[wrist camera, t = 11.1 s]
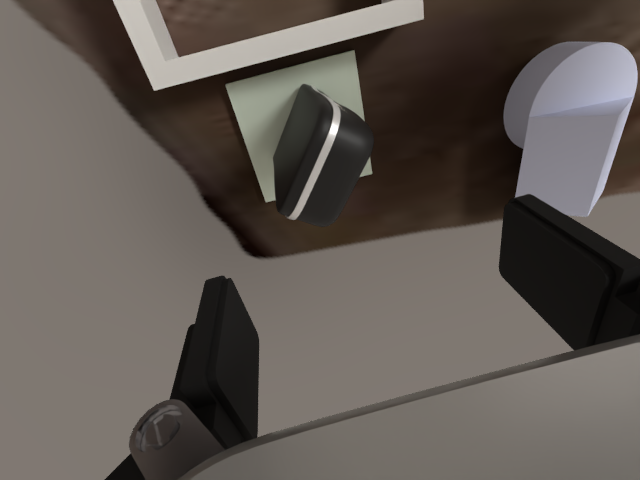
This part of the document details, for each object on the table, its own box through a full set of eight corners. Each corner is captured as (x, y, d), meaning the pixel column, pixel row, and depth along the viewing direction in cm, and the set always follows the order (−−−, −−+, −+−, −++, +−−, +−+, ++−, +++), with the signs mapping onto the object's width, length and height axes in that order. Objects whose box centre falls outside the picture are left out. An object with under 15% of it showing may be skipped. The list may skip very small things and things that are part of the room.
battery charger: (311, 177, 30) (334, 245, 20) (270, 161, 28) (274, 226, 19) (346, 99, 27) (393, 135, 17) (302, 78, 26) (327, 103, 16)
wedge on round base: (575, 178, 35) (614, 32, 28) (636, 206, 29) (705, 31, 22) (492, 195, 34) (511, 52, 27) (537, 227, 29) (576, 56, 22)
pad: (352, 50, 26) (354, 50, 25) (370, 171, 31) (372, 173, 30) (225, 83, 26) (225, 84, 25) (265, 199, 31) (265, 202, 30)
